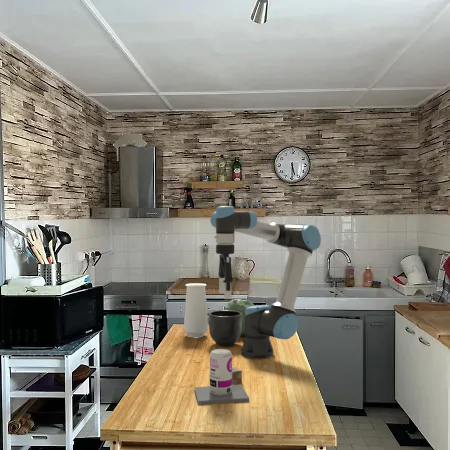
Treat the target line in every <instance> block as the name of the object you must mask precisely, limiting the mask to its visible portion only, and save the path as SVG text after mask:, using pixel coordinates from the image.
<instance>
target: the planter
mask: <svg viewBox="0 0 450 450" xmlns="http://www.w3.org/2000/svg"><path fill="white" fill-rule="evenodd" d="M242 322H243V314H242V313H241V312H238V311H232V310H225V309H222V310H212V311H210V312H209V313H208V331H209V336H210V338H211V339H212V340H213V341H214V343H215V344H216V346H218V347H223V348H229V347H233V346H235V345H236V343H237V342H238V341H239V340H240V339H241V336H242V335H241V332H242Z"/></svg>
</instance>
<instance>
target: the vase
mask: <svg viewBox="0 0 450 450" xmlns="http://www.w3.org/2000/svg"><path fill="white" fill-rule="evenodd" d="M206 286H207V284H206V283H201V282H200V283H199V282H195V283H194V282H193V283H190V282H189V283H186V284H185V287H186V291H185V292H186V293H185V302H184V304H185V306H184V317H183V318H184V321H183V323H184V324H183V331H184V333H185V334H186V337H187V336H189V337H203V336H205V337H206V334H207V332H208V331H209V317H208V304H207V295H206ZM189 337H188V338H189ZM203 338H204V337H203Z"/></svg>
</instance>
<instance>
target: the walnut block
mask: <svg viewBox="0 0 450 450" xmlns="http://www.w3.org/2000/svg"><path fill="white" fill-rule="evenodd" d="M242 383H243V370H242V369H240V368H238V367H237V366H235V367H233V366H232V385H240V384H242Z"/></svg>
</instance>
